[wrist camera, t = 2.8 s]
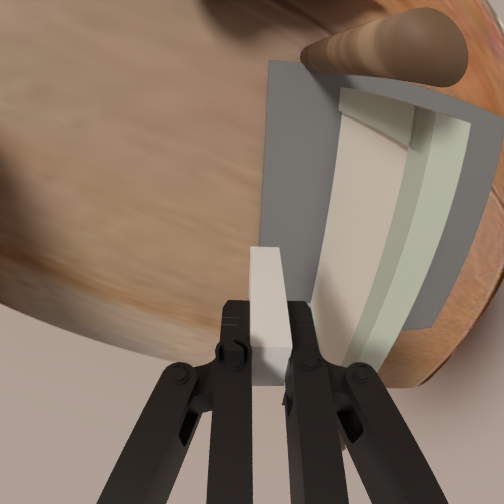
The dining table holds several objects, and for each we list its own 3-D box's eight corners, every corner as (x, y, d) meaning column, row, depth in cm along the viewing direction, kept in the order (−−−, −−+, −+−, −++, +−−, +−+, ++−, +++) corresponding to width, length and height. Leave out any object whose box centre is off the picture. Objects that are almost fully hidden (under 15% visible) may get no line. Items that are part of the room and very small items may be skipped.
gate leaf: (321, 315, 31) (345, 421, 20) (305, 315, 31) (323, 424, 20) (363, 90, 19) (470, 123, 8) (340, 86, 19) (436, 112, 8)
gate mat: (253, 332, 34) (253, 335, 34) (268, 60, 19) (269, 60, 19) (430, 324, 35) (431, 327, 35) (503, 118, 20) (506, 119, 19)
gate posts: (297, 321, 34) (316, 456, 20) (299, 43, 18) (397, -2, 5) (318, 320, 33) (344, 452, 20) (331, 45, 18) (466, 20, 5)
